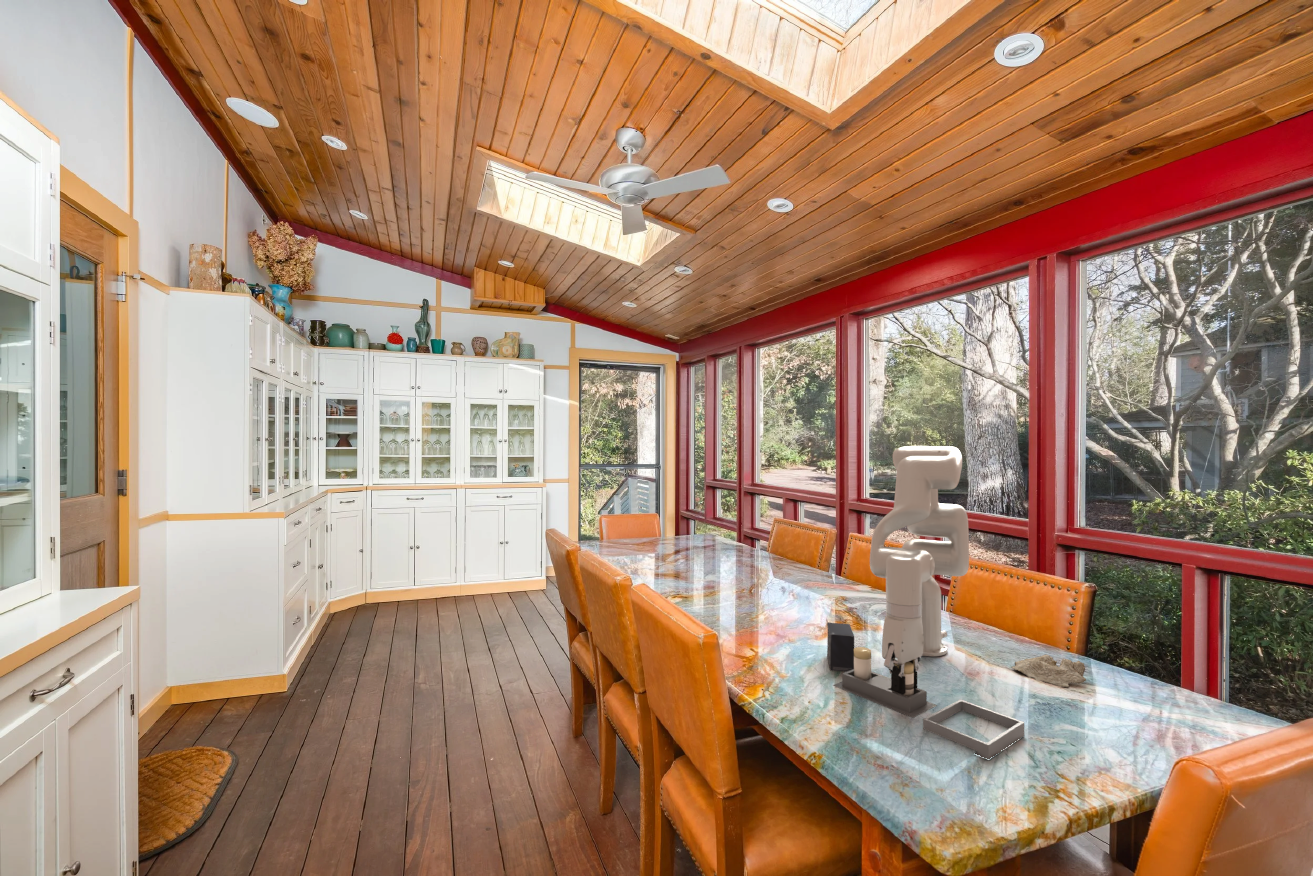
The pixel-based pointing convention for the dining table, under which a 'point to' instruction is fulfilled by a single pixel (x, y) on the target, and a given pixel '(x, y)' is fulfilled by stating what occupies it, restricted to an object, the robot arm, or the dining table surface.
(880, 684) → the fuse block
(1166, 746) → the dining table surface
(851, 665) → the small box
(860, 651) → the cylinder
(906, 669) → the fuse
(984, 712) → the tray
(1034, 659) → the coral
